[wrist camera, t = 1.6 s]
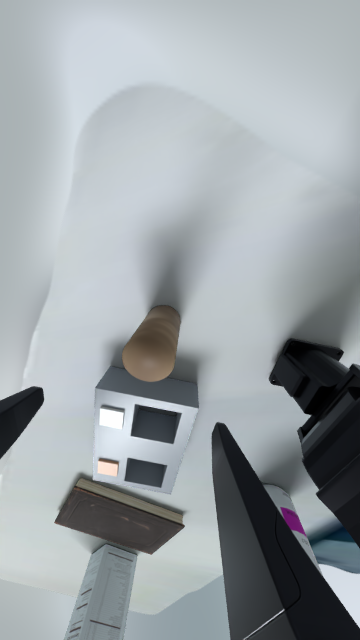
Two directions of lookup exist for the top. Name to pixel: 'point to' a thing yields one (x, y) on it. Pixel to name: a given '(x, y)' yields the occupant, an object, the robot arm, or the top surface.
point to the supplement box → (103, 596)
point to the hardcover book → (118, 517)
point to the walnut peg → (153, 345)
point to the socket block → (141, 430)
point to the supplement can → (290, 518)
